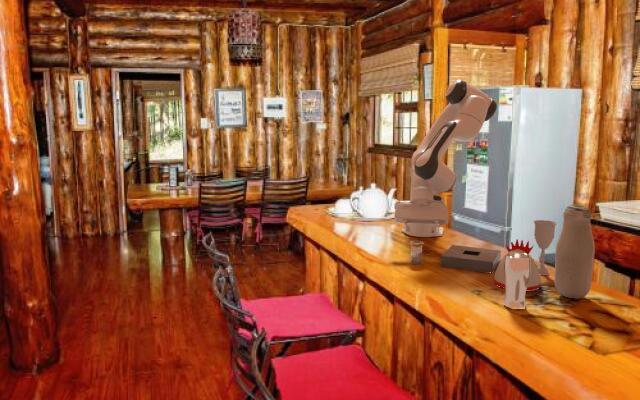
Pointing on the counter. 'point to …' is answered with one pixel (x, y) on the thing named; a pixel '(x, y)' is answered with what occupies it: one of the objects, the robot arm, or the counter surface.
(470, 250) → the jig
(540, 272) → the chalice
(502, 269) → the kitchen timer
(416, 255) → the bushing
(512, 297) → the beer glass
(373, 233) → the counter surface
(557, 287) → the glass bottle
